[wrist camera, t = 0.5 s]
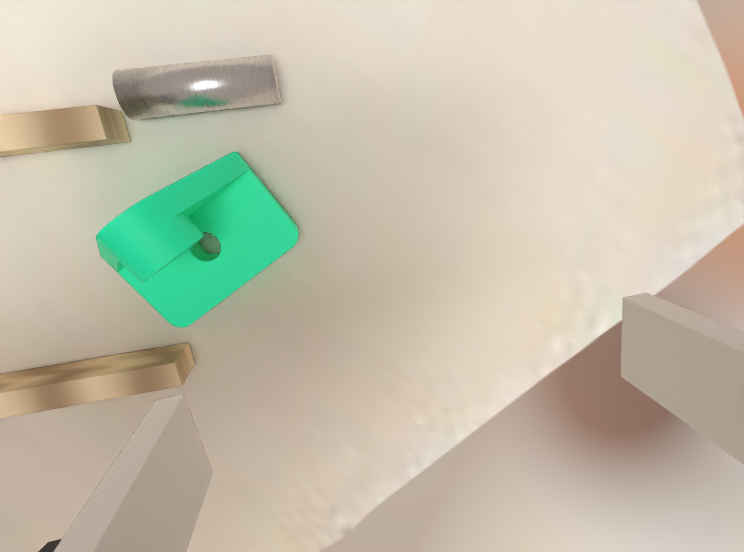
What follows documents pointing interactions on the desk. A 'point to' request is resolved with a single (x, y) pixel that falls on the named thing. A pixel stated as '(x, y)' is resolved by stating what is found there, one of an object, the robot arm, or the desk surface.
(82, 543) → the robot arm
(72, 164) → the desk surface
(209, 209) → the camera mount
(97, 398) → the u-shaped wooden frame
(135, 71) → the shaft stub
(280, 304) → the desk surface
